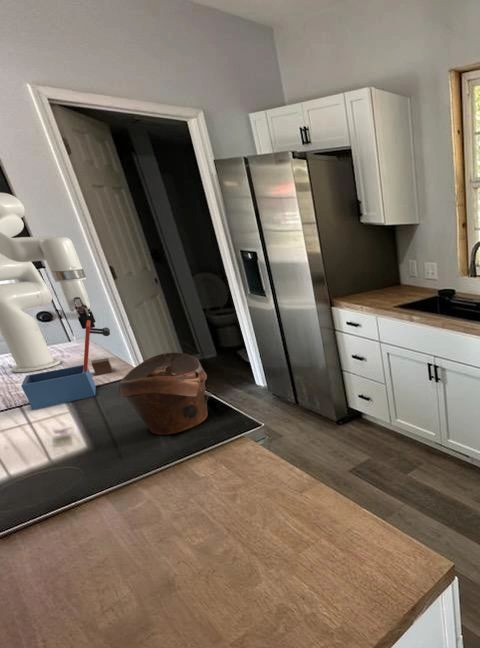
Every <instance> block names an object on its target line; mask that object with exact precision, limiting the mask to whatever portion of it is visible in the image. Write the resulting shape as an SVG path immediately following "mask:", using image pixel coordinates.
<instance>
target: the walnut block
mask: <svg viewBox="0 0 480 648" xmlns="http://www.w3.org/2000/svg"><path fill="white" fill-rule="evenodd" d="M90 363H91V367H92V369H93V371H94V373H95V376H100V375H104V374H111V373H113V371H114V370H113V366H112V364H111V361H110V359H109V357H105V358H99V359H93V360H91V362H90Z"/></svg>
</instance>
